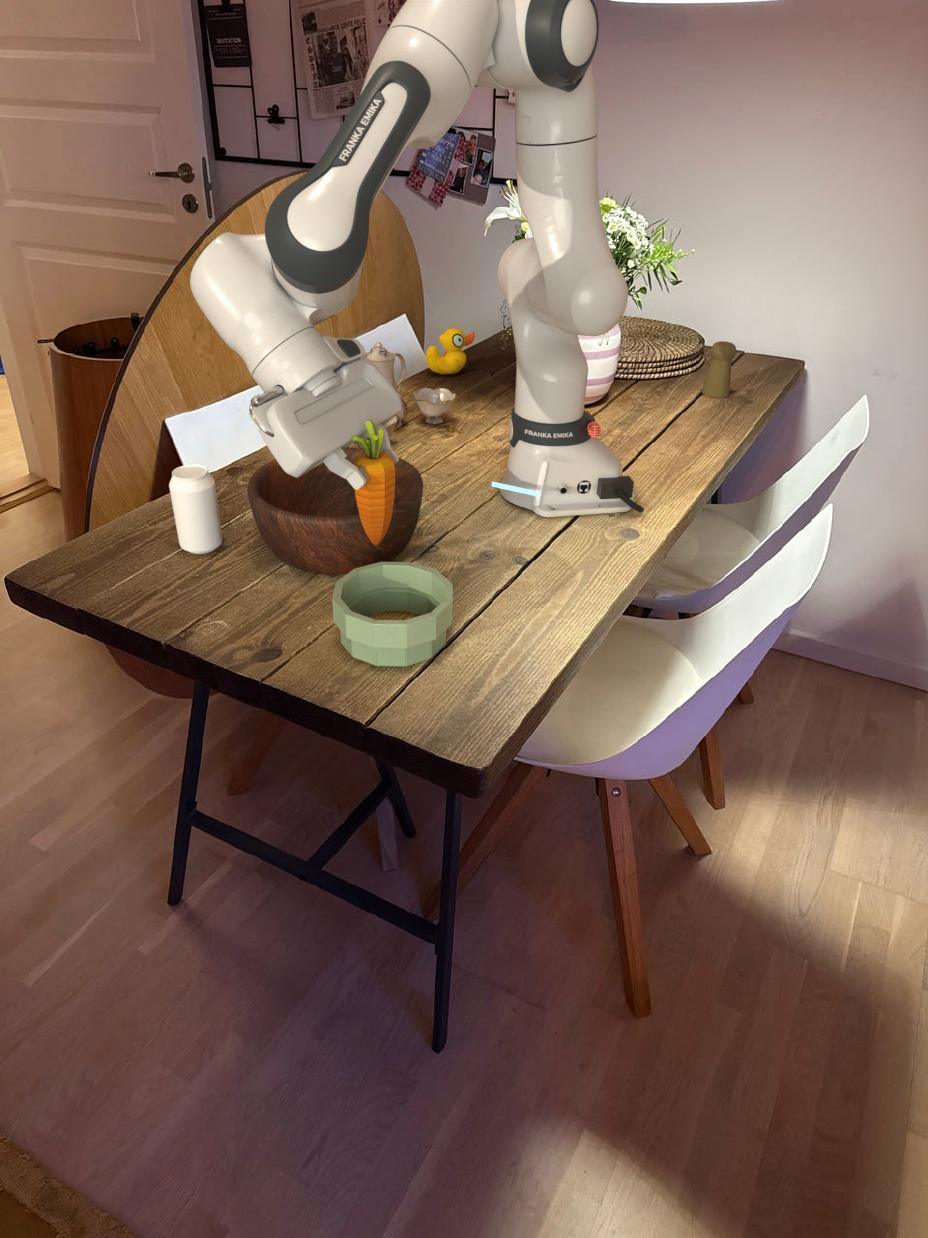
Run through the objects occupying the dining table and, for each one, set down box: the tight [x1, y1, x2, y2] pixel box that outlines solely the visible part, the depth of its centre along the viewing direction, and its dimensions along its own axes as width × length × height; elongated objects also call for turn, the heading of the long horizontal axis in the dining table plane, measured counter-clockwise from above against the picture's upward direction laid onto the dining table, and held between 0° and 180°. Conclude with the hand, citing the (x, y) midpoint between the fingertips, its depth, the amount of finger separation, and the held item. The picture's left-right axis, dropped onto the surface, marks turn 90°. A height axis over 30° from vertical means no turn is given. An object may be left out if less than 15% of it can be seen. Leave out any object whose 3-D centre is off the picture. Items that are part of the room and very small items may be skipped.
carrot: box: [352, 420, 395, 545], centre depth 99 cm, size 5×5×15 cm
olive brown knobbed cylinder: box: [701, 340, 737, 398], centre depth 189 cm, size 6×6×11 cm
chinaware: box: [361, 340, 458, 440], centre depth 165 cm, size 28×17×17 cm, turn 148°
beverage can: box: [168, 464, 224, 555], centre depth 125 cm, size 6×6×12 cm
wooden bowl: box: [246, 446, 424, 576], centre depth 127 cm, size 25×25×10 cm
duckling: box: [425, 327, 476, 375], centre depth 195 cm, size 11×5×10 cm, turn 111°
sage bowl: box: [331, 561, 454, 667], centre depth 109 cm, size 15×15×7 cm
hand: (378, 474), depth 98 cm, fingers closed on carrot, 5 cm apart
